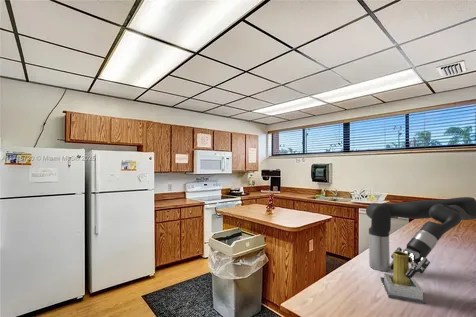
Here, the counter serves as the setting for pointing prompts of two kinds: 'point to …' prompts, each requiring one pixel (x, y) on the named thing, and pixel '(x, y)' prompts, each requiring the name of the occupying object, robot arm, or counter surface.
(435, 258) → the counter surface
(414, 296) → the grey tray
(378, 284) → the counter surface
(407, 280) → the vase
